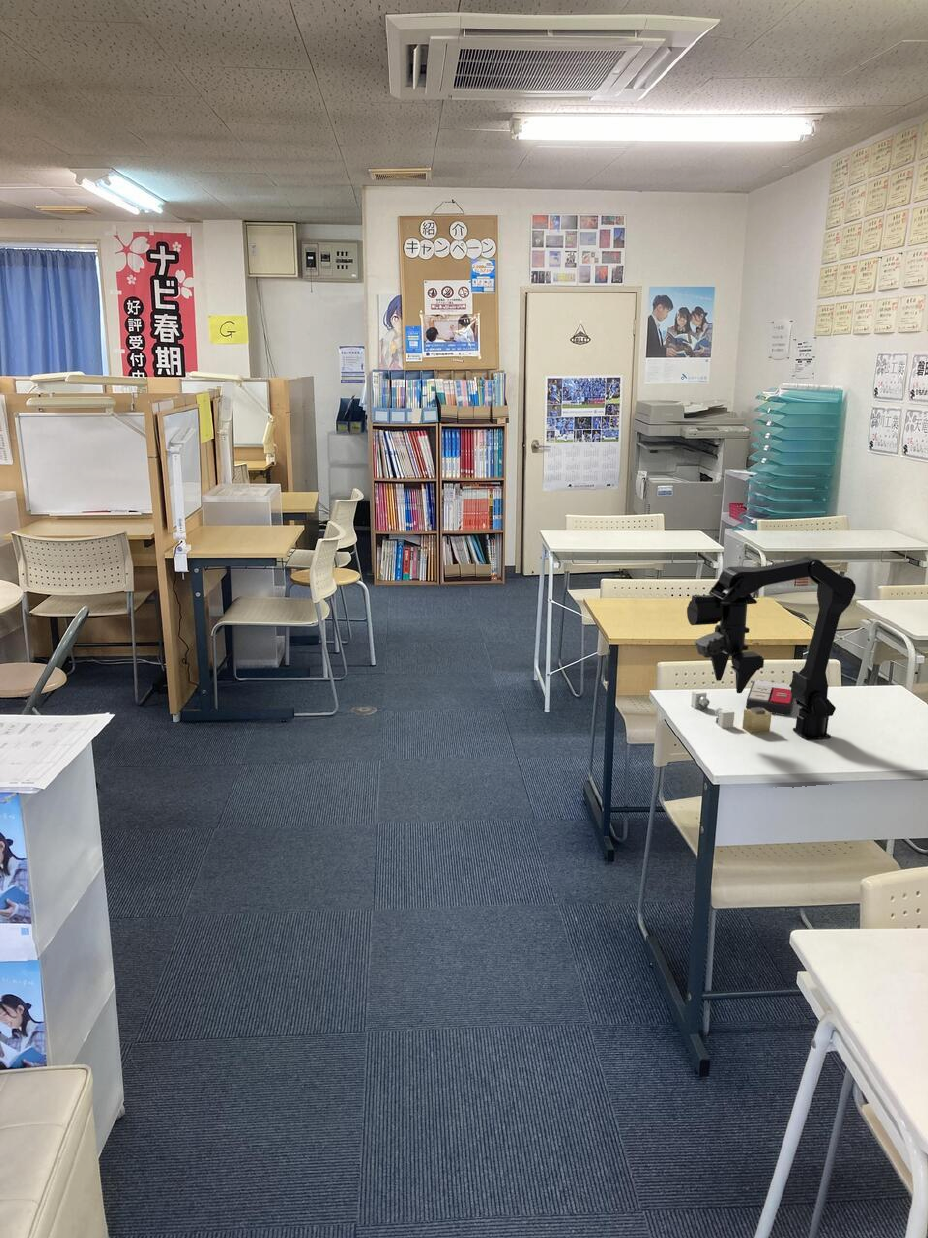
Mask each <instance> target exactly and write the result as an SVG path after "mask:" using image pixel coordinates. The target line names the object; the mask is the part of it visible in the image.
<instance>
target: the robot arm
mask: <svg viewBox="0 0 928 1238" xmlns="http://www.w3.org/2000/svg"><path fill="white" fill-rule="evenodd" d="M803 578H805V579H806V578H809V580H811V581H812V582H813V583H814V584H816V585H817V589H816V598H817V605H818V613H817V617H816V620H815V625H814V627H813V628H814V629H813V632H812V636H811V640H810V645H809V648H808V652H807V656H806V659H805V662H804V663H805V664H804V667H802V669H801V670H800V671H799V672H798V671H793V673H792V677H791V678H792V679H791V681H790V684H788V685H789V687H791V694H792V696H793V697H794V700H795V704H796V705H797V706H800V707H801V708H799V709H798V714H797V715H796V720H795V721H796V722H795V727H793V728H792V731H794V732H795V733H796V734H798V735H800V736H801V737H802V738H804V739H806V740H820V739H830V738H831V737H832V736H831V734H829V733H828V727H829V718H830V717H833V716H834V713H835V711H836V710H837V707H836V706H835V705H834V704H833V703H832V702H831V701H830V699H828V695H829V694H828V691H829V682H828V678H827V668H828V664H829V661H830V659H831V658H830V657H831V653H832V649H833V646H834V641H835V638H836V636H837V635H836V634H837V630H838V626H839V623H840V619H841V616H842V613H844V612H845V611H846V609H847V608H848V607H849V606H850V605H851V603H852V600H853V598H854V595H855V594H856V590H857V589H856V588H857V586H856V583H855V582H854V580H853V579H852V578H850V577H847V576H845V575H843V574H842V575H841V574H839V573H838V572H837V571H834V570H833V568H830V567H829V566H827V564H825V563H824V562H823V561H822V560H820V559H818V558H815V557H812V556H809V555H808V556H804V557H802V558H798V559H793V560H788V561H783V562H778V563H773V564H767V565H764V566H763V565H762V566H755V567H754V566H728V567H725V568H723V569H722V572H721V573H720V576H719V578H718V580H717V581H716V582H715V584H714V585H713V587H711V589H710V590H709V592H708V594H707V595H706V594H705V595H704V594H703V595H699V594H692V597H691V600H690V601H689V603H688V606H687V608H686V615H687V619H688V620H687V621H688V622H689V624H690V625H691V626H702V625H703V626H705V625H715V627H714V632H711V633H707V634H706V635H704V636H701V637H699V638H697V639H696V640H695V641H694V644H695V647H696V651H697V654H699V655H701V656H703V658H705V659H709V658H710V661H711V664H712V667H713V672H714V676H715V680H716V681H717V682H719V681H722V679H723V676H724V673H725V671H726V667H727V665H728V661H729V657H731V661H730V662H731V666H730V668H731V669H732V670H733V671H734V673H735V689H736V691H735V692H736V694H742V693H743V691H744V689H745V688H746V687H747V685H748V683H749V682H750V681H751V679H752V677H753V676H754V674H755V673H756V672H757V671H760V669H763V668H764V667H765V666H764V665H765V659H764V658H763V656H762V655H760V654H758V653H756V652H754V651H748V650H749V645H748V644H746V643H745V642H746V641H745V640H746V634H749V633H750V627H747V615H748V614H747V613H748V605H756V604H757V603H758V601H757V600H756V599H755V598H754V597H753V596H752V594H753V593H757V591H759V590H760V589H761V588H764V587H766V586H769V585H774V584H780V583H784V582H789V581H795V580H799V579H803ZM724 591H726V592H724ZM718 623H719V624H718ZM744 651H745V652H744Z"/></svg>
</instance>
